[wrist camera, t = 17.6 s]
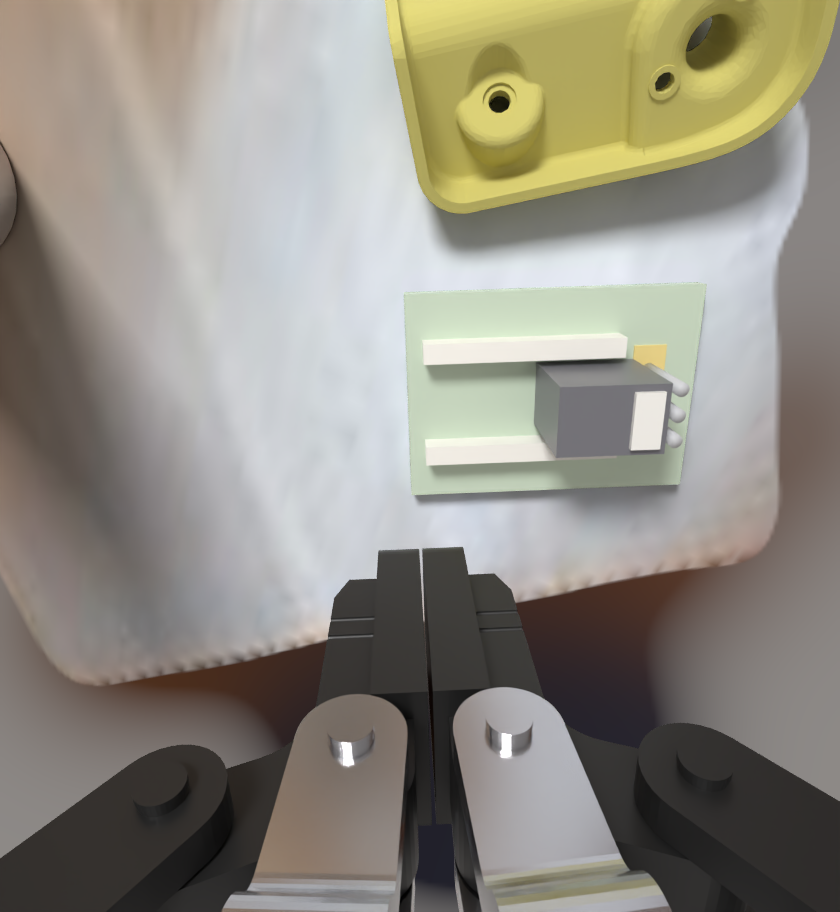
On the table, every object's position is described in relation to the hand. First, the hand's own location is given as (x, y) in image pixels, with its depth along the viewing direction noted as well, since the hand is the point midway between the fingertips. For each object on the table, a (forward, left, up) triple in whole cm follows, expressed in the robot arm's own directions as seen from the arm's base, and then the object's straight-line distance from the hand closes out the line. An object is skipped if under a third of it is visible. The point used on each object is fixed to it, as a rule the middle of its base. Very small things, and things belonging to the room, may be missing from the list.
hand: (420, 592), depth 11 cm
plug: (+11, -4, -28) cm, 30 cm away
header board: (+9, -4, -29) cm, 31 cm away
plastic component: (+10, +13, -29) cm, 34 cm away
